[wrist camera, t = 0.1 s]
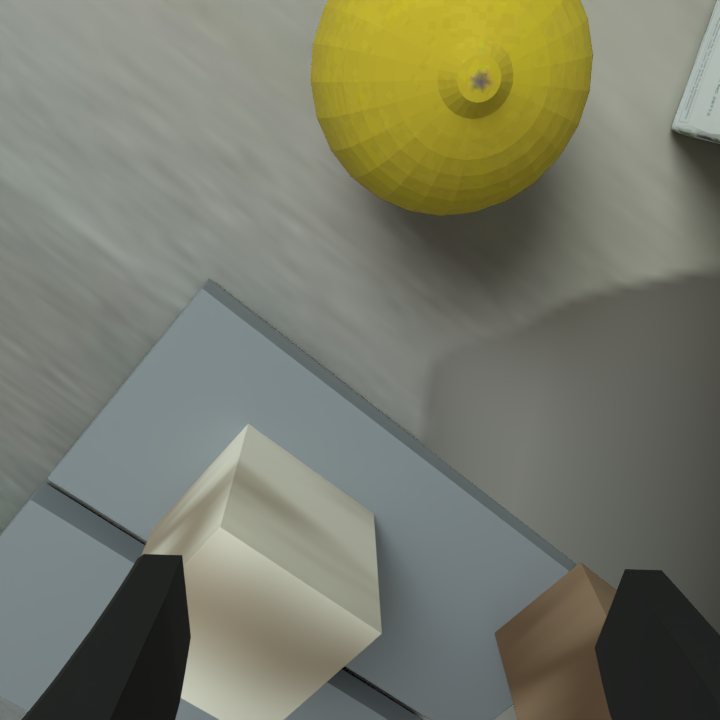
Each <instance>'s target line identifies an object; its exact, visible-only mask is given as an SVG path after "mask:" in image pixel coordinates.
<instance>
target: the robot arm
mask: <svg viewBox="0 0 720 720" xmlns="http://www.w3.org/2000/svg"><path fill="white" fill-rule="evenodd" d="M190 640H191V633H190V624H189V614H188V605H187V596H186V586H185V577H184V567H183V558H182V555H159V554H143V555H142V556H140V557H139V558H138V559H137V560H136V562H135V563H134V565H133V567H132V568H131V570H130V572H129V573H128V575H127V576H126V578H125V579H124V581H123V583H122V584H121V586H120V587H119V589H118V590H117V592H116V593H115V595H114V596H113V598H112V599H111V601H110V602H109V604H108V605H107V607H106V608H105V610H104V611H103V613H102V614H101V616H100V617H99V619H98V620H97V621H96V623H95V624H94V626H93V627H92V629H91V630H90V631H89V633H88V634H87V636H86V637H85V638H84V640H83V641H82V642H81V644H80V645H79V646H78V648H77V649H76V651H75V652H74V653H73V655H72V656H71V657H70V659H69V660H68V661H67V663H66V664H65V665H64V667H63V668H62V669H61V671H60V672H59V674H58V675H57V676H56V677H55V679H54V680H53V681H52V683H51V684H50V685H49V687H48V688H47V689H46V690H45V692H44V693H43V694H42V695H41V696H40V698H39V699H38V700H37V701H36V703H35V704H34V705H33V706H32V708H31V709H30V710H29V711H28V712H27V714H26V715H25V716H24V717H23V719H22V720H175V719H176V715H177V711H178V708H179V704H180V699H181V693H182V687H183V682H184V676H185V670H186V664H187V658H188V652H189V646H190ZM595 652H596V657H597V662H598V666H599V671H600V675H601V680H602V685H603V689H604V693H605V697H606V701H607V705H608V709H609V713H610V716H611V719H612V720H720V635H719V634H718V633H717V632H716V631H715V630H714V629H713V627H712V626H711V625H710V624H709V623H708V622H707V621H706V620H705V619H704V617H703V616H702V615H701V614H700V613H699V612H698V611H697V609H696V608H695V607H694V606H693V605H692V604H691V603H690V602H689V601H688V599H687V598H686V597H685V596H684V595H683V594H682V593H681V591H680V590H678V588H677V587H676V586H675V585H674V584H673V583H672V581H671V580H670V579H669V578H668V577H667V576H666V575H665V574H664V573H663V572H662V571H661V570H660V571H659V570H630V569H625V571H624V574H623V576H622V579H621V581H620V584H619V586H618V589H617V591H616V594H615V597H614V599H613V602H612V604H611V607H610V609H609V612H608V614H607V617H606V620H605V622H604V625H603V627H602V630H601V632H600V635H599V637H598V640H597V643H596V645H595Z"/></svg>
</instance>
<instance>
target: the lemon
mask: <svg viewBox="0 0 720 720" xmlns="http://www.w3.org/2000/svg"><path fill="white" fill-rule="evenodd" d="M592 59H593V52H592V45H591V38H590V31H589V24H588V18H587V15H586V13H585V11H584V8H583V6H582V3H581V1H580V0H328V2H327V4H326V5H325V7H324V10H323V13H322V17H321V20H320V23H319V26H318V30H317V33H316V36H315V39H314V43H313V51H312V67H311V86H312V92H313V98H314V103H315V109H316V115H317V119H318V121H319V123H320V126H321V128H322V130H323V133H324V135H325V137H326V140H327V142H328V144H329V147H330V149H331V151H332V152H333V153H334V155H335V156H336V157H337V158H338V160H339V161H340V162H341V164H342V165H343V166H344V168H345V169H346V170H347V172H348V173H349V174H350V176H351V177H353V178H354V179H355V180H356V181H358V182H359V183H360V184H361V185H363V186H364V187H365V188H367V189H368V190H369V191H370V192H372V193H373V194H374V195H375V196H377V197H378V198H381V199H383V200H385V201H388V202H390V203H392V204H394V205H397V206H399V207H401V208H403V209H406V210H408V211H414V212H421V213H427V214H433V215H440V216H443V215H453V214H463V213H472V212H476V211H479V210H482V209H485V208H488V207H490V206H493V205H496V204H499V203H502V202H504V201H507V200H509V199H510V198H512V197H513V196H515V195H516V194H518V193H519V192H521V191H522V190H524V189H525V188H527V187H529V186H530V185H532V184H533V183H535V182H536V181H537V180H538V179H539V178H540V177H541V175H542V174H543V173H544V172H545V171H546V170H547V169H548V168H549V167H550V166H551V165H552V164H553V163H554V162H555V161H556V160H557V159H558V158H559V156H560V155H561V153H562V152H563V150H564V148H565V147H566V145H567V143H568V142H569V140H570V138H571V137H572V135H573V133H574V132H575V130H576V128H577V127H578V125H579V122H580V119H581V116H582V113H583V110H584V107H585V104H586V101H587V98H588V94H589V91H590V81H591V70H592Z"/></svg>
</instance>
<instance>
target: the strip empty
mask: <svg viewBox="0 0 720 720" xmlns="http://www.w3.org/2000/svg"><path fill="white" fill-rule="evenodd" d="M144 548H145V545H144V544H142V543H140V542H139V541H137V540H136V539H134V538H132V537H131V536H129V535H128V534H126V533H124V532H123V531H121V530H120V529H118V528H116V527H115V526H113V525H112V524H110V523H108V522H107V521H105V520H104V519H102V518H101V517H99V516H97V515H96V514H94V513H93V512H91V511H89V510H88V509H86V508H85V507H83V506H81V505H80V504H78V503H77V502H75V501H73V500H72V499H70V498H69V497H67V496H65V495H64V494H62V493H61V492H59V491H57V490H56V489H54V488H53V487H51V486H50V485H48V484H46V483H45V482H43V483H42V484H41V485H40V487H39V488H38V489H37V490H36V492H35V493H34V494H33V495H32V496H31V498H30V499H29V500H28V501H27V503H26V504H25V505H24V506H23V507H22V509H21V510H20V511H19V512H18V514H17V515H16V516H15V517H14V519H13V520H12V521H11V522H10V523H9V525H8V526H7V527H6V528H5V530H4V531H3V532H2V533H1V535H0V697H2V698H4V699H6V700H8V701H10V702H12V703H14V704H16V705H18V706H20V707H22V708H23V709H25V710H27V711H29V710H30V709H31V708H32V706H33V705H34V704H35V703H36V701H37V700H38V699H39V698H40V696H41V695H42V694H43V693H44V692H45V690H46V689H47V688H48V687H49V685H50V684H51V683H52V681H53V680H54V679H55V677H56V676H57V675H58V674H59V672H60V671H61V669H62V668H63V667H64V665H65V664H66V663H67V661H68V660H69V659H70V657H71V656H72V655H73V653H74V652H75V651H76V649H77V648H78V646H79V645H80V644H81V642H82V641H83V640H84V638H85V637H86V636H87V634H88V633H89V631H90V630H91V629H92V627H93V626H94V624H95V623H96V621H97V620H98V619H99V617H100V616H101V614H102V613H103V611H104V610H105V608H106V607H107V605H108V604H109V602H110V601H111V599H112V598H113V596H114V595H115V593H116V592H117V590H118V589H119V587H120V586H121V584H122V583H123V581H124V579H125V578H126V576H127V575H128V573H129V572H130V570H131V568H132V567H133V565H134V563H135V562H136V560H137V559H138V558H139V557H140V556H141V555H142V552H143V550H144ZM175 720H219V719H217V718H215V717H214V716H212V715H210V714H208V713H207V712H205V711H203V710H201V709H200V708H198V707H196V706H194V705H192V704H191V703H189V702H187V701H185V700H184V699H182V698H181V699H180V704H179V708H178V711H177V715H176V719H175ZM284 720H422V719H421V718H419V717H418V716H416V715H414V714H413V713H411V712H410V711H408V710H407V709H405V708H403V707H402V706H400V705H399V704H397V703H395V702H394V701H392V700H391V699H389V698H387V697H386V696H384V695H383V694H381V693H379V692H378V691H376V690H375V689H373V688H371V687H370V686H368V685H367V684H365V683H363V682H362V681H360V680H359V679H357V678H356V677H354V676H352V675H351V674H349V673H348V672H346V671H344V670H343V669H341V670H340V671H339V672H337V673H336V674H335V675H334V676H333V677H332V678H331V679H330V680H328V681H327V682H326V683H325V684H324V685H323V686H322V687H320V688H319V689H318V690H317V691H316V692H315V693H314V694H312V695H311V696H310V697H309V698H308V699H307V700H306V701H304V702H303V703H302V704H301V705H300V706H299V707H298V708H296V709H295V710H294V711H293V712H292V713H291V714H290V715H289V716H287V717H286V718H285V719H284Z"/></svg>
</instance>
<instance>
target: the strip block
mask: <svg viewBox="0 0 720 720" xmlns="http://www.w3.org/2000/svg"><path fill="white" fill-rule="evenodd" d="M248 424H250V425H251V426H252V427H254V428H255V429H257V430H258V431H259V432H261V433H262V434H263V435H265V436H266V437H268V438H269V439H270V440H272V441H273V442H275V443H276V444H277V445H279V446H280V447H282V448H283V449H284V450H286V451H287V452H288V453H290V454H291V455H293V456H294V457H295V458H297V459H298V460H300V461H301V462H302V463H304V464H305V465H306V466H308V467H309V468H311V469H312V470H313V471H315V472H316V473H318V474H319V475H320V476H322V477H323V478H325V479H326V480H327V481H329V482H330V483H331V484H333V485H334V486H336V487H337V488H338V489H340V490H341V491H343V492H344V493H345V494H347V495H348V496H349V497H351V498H352V499H354V500H355V501H356V502H358V503H359V504H361V505H362V506H363V507H365V508H366V509H368V510H369V511H370V512H372V513H373V514H374V524H375V539H376V554H377V569H378V584H379V599H380V614H381V629H382V634H381V635H380V636H378V637H377V638H376V639H375V640H374V641H373V642H372V643H371V644H369V645H368V646H367V647H366V648H365V649H364V650H363V651H361V652H360V653H359V654H358V655H357V656H356V657H355V658H353V659H352V660H351V661H350V662H349V663H348V664H347V665H345V666H346V667H347V668H349V669H350V670H352V671H354V672H355V673H357V674H358V675H360V676H361V677H363V678H365V679H366V680H368V681H369V682H371V683H373V684H374V685H376V686H377V687H379V688H381V689H382V690H384V691H385V692H387V693H388V694H390V695H392V696H393V697H395V698H396V699H398V700H400V701H401V702H403V703H404V704H406V705H408V706H409V707H411V708H412V709H414V710H415V711H417V712H419V713H420V714H422V715H423V716H425V717H427V718H428V719H430V720H494V719H495V718H496V717H497V716H499V715H500V714H501V713H503V712H504V711H505V710H507V709H508V708H509V707H510V706H512V705H514V708H515V711H516V716H517V719H518V720H612V719H611V716H610V713H609V709H608V705H607V701H606V697H605V693H604V689H603V685H602V680H601V675H600V671H599V666H598V662H597V657H596V652H595V645H596V643H597V640H598V637H599V635H600V632H601V630H602V627H603V625H604V622H605V620H606V617H607V614H608V612H609V609H610V607H611V604H612V602H613V599H614V597H615V594H616V591H617V590H615V589H614V588H613V587H611V586H610V585H609V584H608V583H606V582H605V581H604V580H603V579H601V578H600V577H599V576H598V575H596V574H595V573H594V572H592V571H591V570H590V569H589V568H587V567H586V566H585V565H584V564H582V563H581V562H580V563H579V564H578V565H577V564H575V563H574V562H573V561H572V560H570V559H569V558H568V557H566V556H565V555H564V554H563V553H561V552H560V551H558V550H557V549H556V548H555V547H553V546H552V545H551V544H550V543H548V542H547V541H546V540H545V539H543V538H542V537H541V536H539V535H538V534H537V533H535V532H534V531H533V530H532V529H530V528H529V527H528V526H527V525H525V524H524V523H523V522H521V521H520V520H519V519H518V518H516V517H515V516H514V515H512V514H511V513H510V512H509V511H507V510H506V509H505V508H503V507H502V506H501V505H500V504H498V503H497V502H496V501H494V500H493V499H492V498H491V497H489V496H488V495H487V494H485V493H484V492H483V491H481V490H480V489H479V488H478V487H476V486H475V485H474V484H473V483H471V482H470V481H469V480H467V479H466V478H465V477H464V476H462V475H461V474H459V473H458V472H457V471H456V470H455V469H453V468H452V467H451V466H449V465H448V464H447V463H446V462H444V461H443V460H442V459H440V458H439V457H438V456H436V455H435V454H434V453H433V452H431V451H430V450H429V449H428V448H426V447H425V446H424V445H422V444H421V443H420V442H419V441H417V440H416V439H415V438H413V437H412V436H411V435H410V434H408V433H407V432H406V431H404V430H403V429H402V428H401V427H399V426H398V425H397V424H395V423H394V422H393V421H392V420H390V419H389V418H388V417H386V416H385V415H384V414H383V413H381V412H380V411H379V410H377V409H376V408H375V407H374V406H372V405H371V404H370V403H368V402H367V401H366V400H365V399H363V398H362V397H361V396H360V395H358V394H357V393H356V392H354V391H353V390H352V389H351V388H349V387H348V386H347V385H345V384H344V383H343V382H342V381H340V380H339V379H338V378H336V377H335V376H334V375H333V374H331V373H330V372H329V371H327V370H326V369H325V368H324V367H322V366H321V365H320V364H318V363H317V362H316V361H315V360H313V359H312V358H311V357H309V356H308V355H307V354H306V353H304V352H303V351H302V350H300V349H299V348H298V347H297V346H295V345H294V344H293V343H291V342H290V341H289V340H288V339H286V338H285V337H284V336H282V335H281V334H280V333H279V332H277V331H276V330H275V329H273V328H272V327H271V326H270V325H268V324H267V323H266V322H264V321H263V320H262V319H261V318H259V317H258V316H257V315H255V314H254V313H253V312H252V311H250V310H249V309H248V308H246V307H245V306H244V305H243V304H241V303H240V302H239V301H237V300H236V299H235V298H234V297H232V296H231V295H230V294H228V293H227V292H226V291H225V290H223V289H222V288H221V287H219V286H218V285H217V284H216V283H214V282H213V281H212V280H210V279H208V280H207V281H206V283H205V284H204V285H203V286H202V288H201V289H200V290H199V291H198V292H197V294H196V295H195V296H194V297H193V299H192V300H191V301H190V302H189V304H188V305H187V306H186V307H185V308H184V310H183V311H182V312H181V313H180V315H179V316H178V317H177V318H176V319H175V321H174V322H173V323H172V324H171V326H170V327H169V328H168V329H167V331H166V332H165V333H164V334H163V335H162V337H161V338H160V339H159V340H158V342H157V343H156V344H155V345H154V347H153V348H152V349H151V350H150V351H149V353H148V354H147V355H146V356H145V358H144V359H143V360H142V361H141V362H140V364H139V365H138V366H137V367H136V369H135V370H134V371H133V372H132V374H131V375H130V376H129V377H128V378H127V380H126V381H125V382H124V383H123V385H122V386H121V387H120V388H119V390H118V391H117V392H116V393H115V394H114V396H113V397H112V398H111V399H110V401H109V402H108V403H107V404H106V406H105V407H104V408H103V409H102V410H101V412H100V413H99V414H98V415H97V417H96V418H95V419H94V420H93V421H92V423H91V424H90V425H89V426H88V428H87V429H86V430H85V431H84V433H83V434H82V435H81V436H80V437H79V439H78V440H77V441H76V442H75V444H74V445H73V446H72V447H71V449H70V450H69V451H68V452H67V453H66V455H65V456H64V457H63V458H62V460H61V461H60V462H59V463H58V465H57V466H56V468H55V469H54V470H53V472H52V473H51V474H50V476H49V477H48V479H49V480H50V481H52V482H54V483H55V484H57V485H58V486H60V487H61V488H63V489H65V490H66V491H68V492H69V493H71V494H73V495H74V496H76V497H77V498H79V499H81V500H82V501H84V502H85V503H87V504H88V505H90V506H92V507H93V508H95V509H96V510H98V511H100V512H101V513H103V514H104V515H106V516H108V517H109V518H111V519H112V520H114V521H115V522H117V523H119V524H120V525H122V526H123V527H125V528H127V529H128V530H130V531H131V532H133V533H135V534H136V535H138V536H139V537H141V538H142V539H144V540H146V541H147V540H148V538H149V536H150V533H151V531H152V529H153V528H154V527H155V526H156V524H157V523H158V522H159V521H160V520H161V519H162V518H163V517H164V516H165V515H166V513H167V512H168V511H169V510H170V509H171V508H172V507H173V506H174V505H175V504H176V503H177V501H178V500H179V499H180V498H181V497H182V496H183V495H184V494H185V493H186V492H187V490H188V489H189V488H190V487H191V486H192V485H193V484H194V483H195V482H196V481H197V479H198V478H199V477H200V476H201V475H202V474H203V473H204V472H205V471H206V470H207V468H208V467H209V466H210V465H211V464H212V463H213V462H214V461H215V460H216V459H217V457H218V456H219V455H220V454H221V453H222V452H223V451H224V450H225V449H226V448H227V446H228V445H229V444H230V443H231V442H232V441H233V440H234V439H235V438H236V437H237V435H238V434H239V433H240V432H241V431H242V430H243V429H244V428H245V427H246V426H247V425H248Z"/></svg>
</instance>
